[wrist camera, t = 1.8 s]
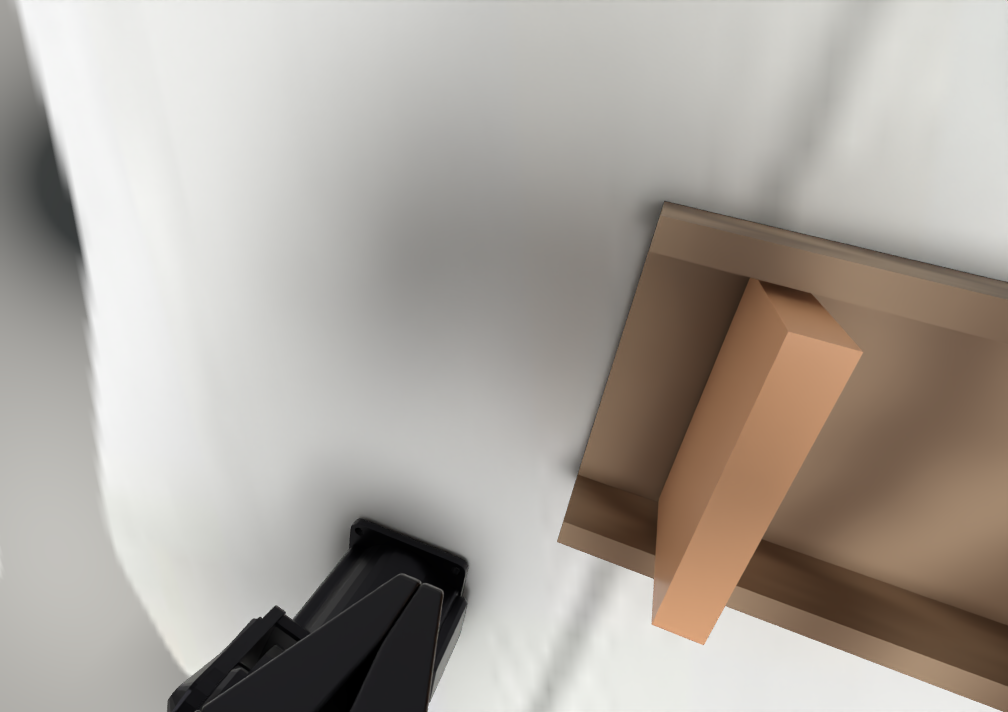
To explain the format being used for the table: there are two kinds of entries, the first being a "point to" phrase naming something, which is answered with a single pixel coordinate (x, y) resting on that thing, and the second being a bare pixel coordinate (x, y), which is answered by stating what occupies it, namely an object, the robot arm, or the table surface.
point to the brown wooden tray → (830, 448)
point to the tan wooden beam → (744, 449)
